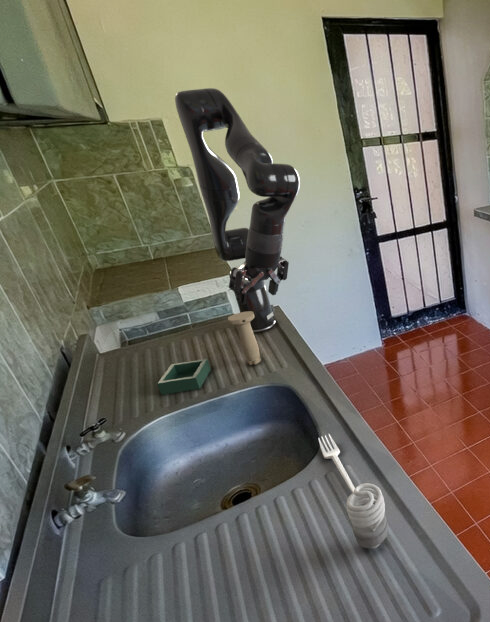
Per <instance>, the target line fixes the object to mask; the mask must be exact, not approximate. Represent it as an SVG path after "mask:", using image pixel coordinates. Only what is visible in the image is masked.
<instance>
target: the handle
mask: <svg viewBox="0 0 490 622" xmlns="http://www.w3.org/2000/svg"><path fill="white" fill-rule="evenodd" d="M254 317H255V316H254V313H253V312H252V311H247V312H241V313H240V312H237V313H234V314H232V315H230V316H228V317H227V321H228V323H229V325H232V326H236V328H237V333H238V336H239V342H240V345H241V349H242V353H243V356H244V357H245V359H246V361H247V363H248V364H249V366H253V365H254V366H256V365H258V364H259V363H261V361H262V360H261V355H260V354H261V353H260V348H259V345H258V341H257V339H256V336H255V333H253V330H252V328H251V325H250V321H251V320H253V319H254Z"/></svg>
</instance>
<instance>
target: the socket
mask: <svg viewBox="0 0 490 622" xmlns="http://www.w3.org/2000/svg"><path fill="white" fill-rule="evenodd" d="M211 370H212V369H211V365H210V363H209V359H208V358H203V359H197V360H190V361H189V360H188V361H183V362H182V361H181V362H175V363H171V364H170V366H169V367H168V368H167V370H166V371H165V372H164V373H163V375H162V376H161V378H160V379H159V380H158V382H157V383H156V384H157V387H158V389H159V392H160V394H161V395H169V394H176V393H181V392H187V391H194V390H200V389H201V388H202V386H203V384H204V382H205V381H206V379H207V377H208V375H209V374H210V372H211Z"/></svg>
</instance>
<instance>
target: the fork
mask: <svg viewBox="0 0 490 622" xmlns="http://www.w3.org/2000/svg"><path fill="white" fill-rule="evenodd" d="M327 434H328V437H329V439H328V437H327V435H326V434H324V437H323V436H320V437H321V439H320V437H317V438H318V443H319V447H320V451H321V453H322V456H323V458H324V459H327V460H328V459H331V460H332V461H333V463H334V465H335V466H336V468H337V470H338V471H339V473H340V474H341V476H342V478H343V480H344V481H345V483H346V485H347V487H348V488H349V490H350V491H351V494H352V493H354V489H355V488H356V487H355V485H354V483H353V482H352V480H351V477H350V476H349V475H348V472H347V470H346V469H345V467H344V465H343V463H342V462H341V460H340V458H339V455H340V453H341V451H340V449H339V447H338V445H337V444H336V442H335V441H334V439H333V438H332V436H331V434H330V433H327ZM324 438H325V439H324ZM325 440H326V441H325ZM329 440H330V441H329ZM330 442H331V443H330ZM355 497H356V496H355Z"/></svg>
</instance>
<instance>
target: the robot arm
mask: <svg viewBox="0 0 490 622" xmlns="http://www.w3.org/2000/svg"><path fill="white" fill-rule="evenodd" d="M174 96H175V97H174V102H175V108H176V112H177V114H178V118H179V121H180V123H181V126H182V129H183V133H184V135H185V138H186V140H187V144H188V146H189V150H190V153H191V156H192V160H193V164H194V169H195V172H196V177H197V182H198V185H199V189H200V192H201V196H202V199H203V203H204V206H205V208H206V213H207V217H208V220H209V226H210V230H211V236H212V241H213V247H214V249H215V253H216V255H217V257H218V258H219V260H221V261H222V262H233V261H239V260H243V259H244V261H243V263H242V264H240V265H238V266H237V267H235V266H234V267H232V268H231V271H230V272H229V276H228V277H229V283H228V288H229V289H230V290H232V292H233V293H234V296H235V300H236V304H237V307H238V311H239V313H241V312H247V311H252V312H253V313H254V316H255V317H254V319H253V320H251V321H250V325H251V328H252V330H253V333H254V334H257V333H262V332H267V331H269V330H271V329H272V328H274V327H275V325H276V323H277V322H276V319H275V317H274V316H275V314H276V311H275V306H274V304H271V301H270V298H269V294H270V295H271V296H276V295H277V292H278V291H279V285H280V284H281V281H286V280H287V279H288V273H289V264H290V262H289V261H288V259H286V258H285V257H283V256H282V248H283V243H284V231H285V230H284V229H285V223H286V218H287V215H288V213H289V211H290V210H291V208H292V205H293V203H294V201H295V199H296V198H297V195H298V194H299V190H300V184H301V182H300V181H301V180H300V175H299V173H298V171H297V170H296V168H295V167H294V166H293V165H290V164H288V163H274V162H273V158H272V155H271V153H269V151H268V150H267V148H265V147H264V145H262V143H260V141H258V139H256V137H255V136H254V135H253V134H252V133H251V131H250V130H249V128H248V127H247V126H246V123H245V122H244V121H243V119H242V118H241V116H240V115H239V113H238V111H237V110H236V108H235V107H234V106H233V104H232V103H231V101H230V100H229V98H228V97H227V95H225V94H224V93H223V92H222V91H221V90H220V89H218V88H214V87H213V88H212V87H211V88H210V87H209V88H197V89H188V90H181V91H178V92H177V93H175V95H174ZM223 129H227V130H226V133H225V138H224V145H225V146H224V148H225V149H226V153H227V154H228V156H229V157H230V158H231V159H232V160H233V162H234V163H235V164H236V165H237V166H238V167H239V168H240V169H241V172H242V174H243V176H244V180H245V183H246V185H247V187H248V190H249V191H250V192H251V193H252V194H254V195H256V196H258V197H262V198H264V199H261V200H258V201H256V202H254V203H253V205H252V208H251V212H250V213H251V214H250V220H249V221H250V222H249V226H248V227H249V228H248V227H239V228H233V229H228V230H227V228H226V227H227V224H228V221H229V219H230V217H231V216H232V215H233V213H234V211H235V209H236V207H237V206H238V203H239V202H240V197H241V193H240V188H239V182H238V178H237V174H236V172H235V171H234V169H233V168H232V167H231V166H230V165H229V164H228V163H227V162H226V161H225V160H223V159H222V158H221V157H220V156H219V155H218V154H217V153H216V152H214V150H213V149H212V148H211V147H210V146H209V145H208V144H207V143H206V139H204V133H205V132H212V131H219V130H223ZM275 271H276V272H275ZM267 280H269V282H268V289H267V288H266V283H265V281H267ZM268 293H269V294H268Z"/></svg>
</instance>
